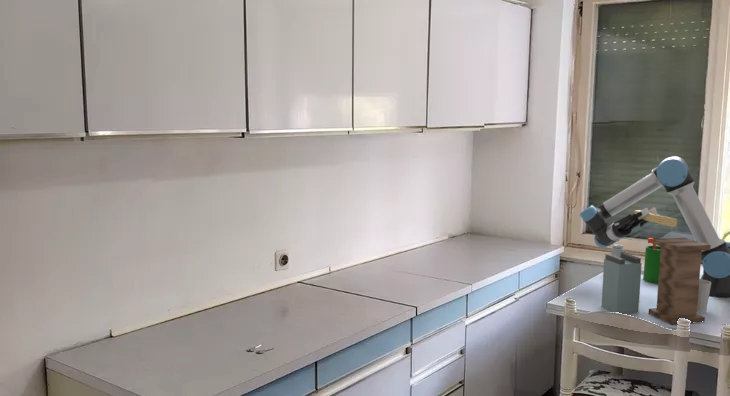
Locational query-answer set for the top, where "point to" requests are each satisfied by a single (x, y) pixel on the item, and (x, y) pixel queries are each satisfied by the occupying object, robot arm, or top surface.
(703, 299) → the cup
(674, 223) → the brass bar
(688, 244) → the walnut stand
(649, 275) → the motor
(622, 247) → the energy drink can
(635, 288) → the block
